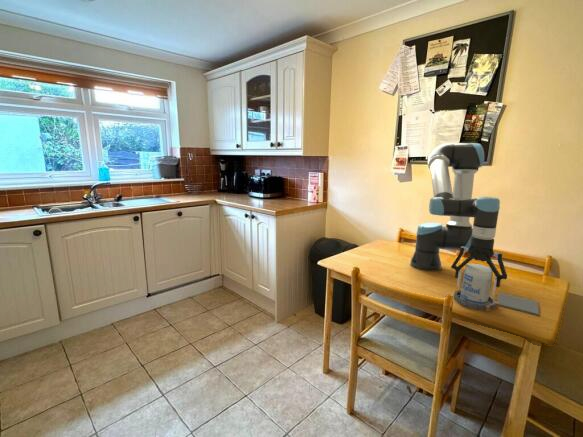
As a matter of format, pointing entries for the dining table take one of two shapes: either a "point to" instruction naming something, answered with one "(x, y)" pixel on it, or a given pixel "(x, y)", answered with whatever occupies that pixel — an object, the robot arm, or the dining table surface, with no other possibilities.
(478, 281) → the supplement tub
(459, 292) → the collar
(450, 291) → the dining table surface
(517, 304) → the trivet
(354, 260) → the dining table surface
